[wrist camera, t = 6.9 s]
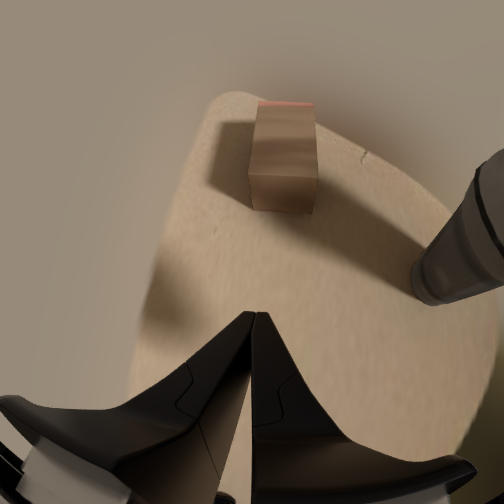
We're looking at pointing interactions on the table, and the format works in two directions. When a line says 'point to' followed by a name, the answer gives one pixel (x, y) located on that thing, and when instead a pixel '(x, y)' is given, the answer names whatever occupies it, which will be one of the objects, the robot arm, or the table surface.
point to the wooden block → (284, 158)
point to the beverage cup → (467, 243)
